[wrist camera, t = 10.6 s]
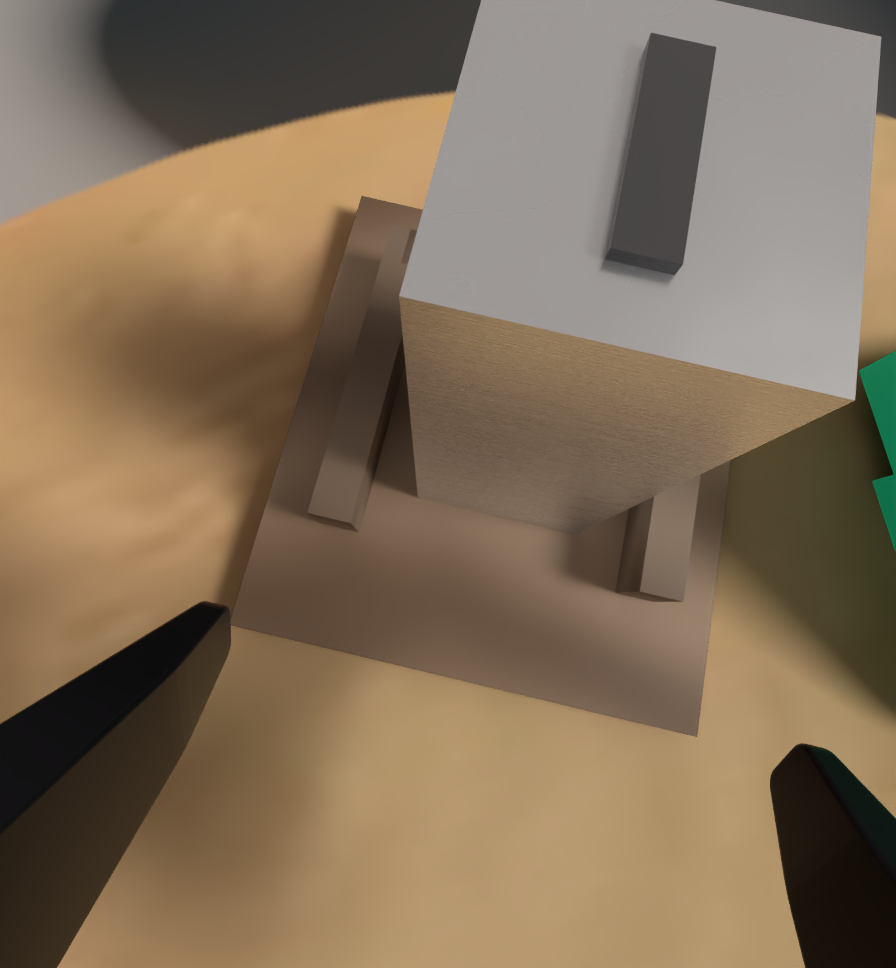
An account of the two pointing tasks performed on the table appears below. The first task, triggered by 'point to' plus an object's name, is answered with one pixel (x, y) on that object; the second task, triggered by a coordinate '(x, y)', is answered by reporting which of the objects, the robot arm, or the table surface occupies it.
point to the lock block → (635, 251)
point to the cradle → (467, 539)
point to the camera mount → (884, 429)
